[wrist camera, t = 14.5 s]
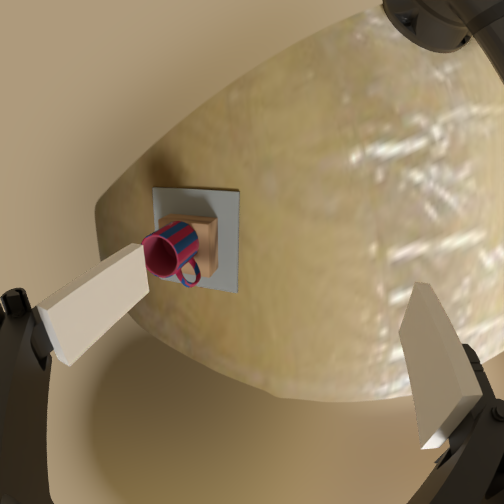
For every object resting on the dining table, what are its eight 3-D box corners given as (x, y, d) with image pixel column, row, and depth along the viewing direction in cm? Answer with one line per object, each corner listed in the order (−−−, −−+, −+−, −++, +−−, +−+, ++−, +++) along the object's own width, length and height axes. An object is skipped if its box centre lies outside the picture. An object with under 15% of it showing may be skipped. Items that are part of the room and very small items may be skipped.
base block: (170, 213, 49) (158, 219, 45) (217, 217, 47) (208, 224, 43) (173, 260, 52) (162, 269, 48) (218, 267, 50) (209, 277, 46)
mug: (182, 212, 43) (159, 225, 37) (219, 265, 45) (202, 285, 39) (156, 233, 46) (132, 248, 40) (190, 282, 48) (171, 302, 42)
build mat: (153, 187, 48) (152, 187, 48) (239, 191, 44) (238, 192, 44) (161, 278, 55) (160, 278, 55) (237, 292, 51) (237, 293, 51)
